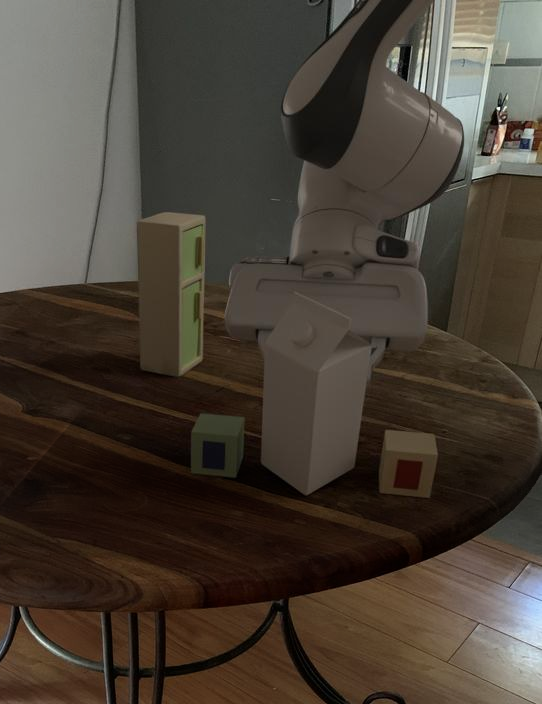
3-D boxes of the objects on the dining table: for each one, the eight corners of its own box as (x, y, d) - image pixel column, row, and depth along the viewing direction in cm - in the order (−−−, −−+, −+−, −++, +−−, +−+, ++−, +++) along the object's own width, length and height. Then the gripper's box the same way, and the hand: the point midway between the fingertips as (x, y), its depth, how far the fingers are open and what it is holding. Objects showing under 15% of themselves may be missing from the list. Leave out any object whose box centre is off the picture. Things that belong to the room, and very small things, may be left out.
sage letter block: (242, 457, 84) (244, 417, 81) (235, 478, 79) (237, 436, 77) (199, 453, 85) (200, 413, 82) (190, 473, 80) (190, 432, 78)
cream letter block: (426, 475, 79) (434, 433, 77) (429, 499, 75) (438, 455, 72) (378, 471, 80) (385, 429, 78) (379, 493, 76) (385, 450, 74)
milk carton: (307, 438, 83) (321, 280, 70) (354, 469, 78) (378, 305, 66) (260, 464, 80) (265, 303, 67) (306, 497, 76) (321, 332, 63)
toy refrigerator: (183, 379, 105) (183, 224, 94) (139, 370, 108) (134, 220, 98) (208, 362, 111) (211, 215, 100) (165, 354, 114) (164, 211, 104)
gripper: (230, 237, 76) (210, 358, 73) (436, 245, 72) (425, 374, 69) (235, 271, 82) (217, 385, 79) (426, 280, 78) (415, 401, 75)
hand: (315, 380), depth 74 cm, fingers closed on milk carton, 8 cm apart
